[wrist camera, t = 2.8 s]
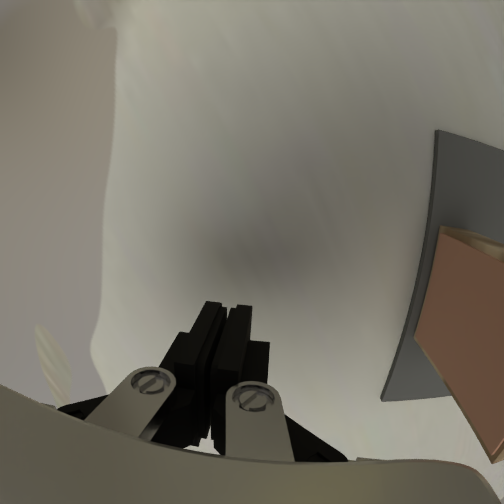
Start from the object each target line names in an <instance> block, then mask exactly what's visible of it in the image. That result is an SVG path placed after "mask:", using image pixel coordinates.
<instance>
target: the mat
mask: <svg viewBox="0 0 504 504" xmlns="http://www.w3.org/2000/svg"><path fill="white" fill-rule="evenodd" d="M440 225H442V226H448V227H454V228H461V229H467V230H470V231H473V232H475V233H478V234H480V235H483V236H485V237H488V238H490V239H493V240H495V241H497V242H500V243H502V244H504V151H503V150H500V149H497V148H495V147H492V146H489V145H486V144H483V143H481V142H478V141H475V140H472V139H468V138H465V137H462V136H459V135H456V134H452V133H449V132H445V131H442V130H435V150H434V165H433V177H432V188H431V197H430V205H429V213H428V220H427V226H426V233H425V239H424V244H423V250H422V255H421V260H420V265H419V270H418V275H417V279H416V284H415V288H414V292H413V296H412V300H411V304H410V308H409V312H408V316H407V319H406V323H405V326H404V330H403V333H402V336H401V340H400V343H399V346H398V349H397V352H396V355H395V358H394V361H393V364H392V367H391V370H390V373H389V376H388V379H387V381H386V384H385V387H384V389H383V392H382V395H381V397H380V399H381V401H382V402H386V401H403V400H416V399H426V398H436V397H444V396H452V395H451V393H450V392H449V390H448V389H447V387H446V385H445V384H444V382H443V381H442V379H441V378H440V376H439V375H438V373H437V372H436V370H435V369H434V367H433V366H432V364H431V363H430V361H429V360H428V358H427V357H426V355H425V354H424V352H423V351H422V349H421V348H420V347H419V345H418V344H417V342H416V341H415V339H414V338H413V337H414V334H415V331H416V328H417V324H418V321H419V318H420V314H421V311H422V307H423V303H424V299H425V295H426V291H427V287H428V283H429V279H430V275H431V270H432V265H433V261H434V256H435V251H436V245H437V240H438V234H439V228H440Z"/></svg>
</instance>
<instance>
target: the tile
mask: <svg viewBox="0 0 504 504" xmlns="http://www.w3.org/2000/svg"><path fill="white" fill-rule="evenodd" d="M413 338H414V339H415V341H416V342H417V344H418V345H419V347H420V348H421V349H422V351H423V352H424V354H425V355H426V357H427V358H428V360H429V361H430V363H431V364H432V366H433V367H434V369H435V370H436V372H437V373H438V375H439V376H440V378H441V379H442V381H443V382H444V384H445V385H446V387H447V389H448V390H449V392H450V393H451V395H452V396H453V398H454V400H455V401H456V403H457V405H458V406H459V408H460V409H461V411H462V413H463V414H464V416H465V418H466V419H467V421H468V423H469V424H470V426H471V428H472V429H473V431H474V433H475V435H476V436H477V438H478V440H479V442H480V443H481V445H482V447H483V449H484V451H485V453H486V454H487V456H488V458H489V460H490V462H491V464H494V463H497V462H499V461H502V460H504V244H502V243H500V242H497V241H495V240H493V239H490V238H488V237H485V236H483V235H480V234H478V233H475V232H473V231H470V230H467V229H461V228H454V227H448V226H442V225H440V228H439V234H438V240H437V245H436V251H435V256H434V261H433V265H432V270H431V275H430V279H429V283H428V287H427V291H426V295H425V299H424V303H423V307H422V311H421V314H420V318H419V321H418V324H417V328H416V331H415V334H414V337H413Z"/></svg>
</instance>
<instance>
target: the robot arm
mask: <svg viewBox="0 0 504 504" xmlns="http://www.w3.org/2000/svg"><path fill="white" fill-rule="evenodd" d="M251 319H252V306H248V305H238V304H237V307H236V308H231V309H230V312H229V315H228V318H227V307H222V303H219V302H210V301H206V303H205V304H204V306H203V308H202V310H201V312H200V314H199V315H198V317H197V319H196V321H195V323H194V325H193V327H192V328H191V330H190V332H189V333H186V332H179V333H178V335H177V337H176V338H175V340H174V342H173V343H172V345H171V347H170V348H169V350H168V352H167V354H166V355H165V357H164V359H163V360H162V362H161V364H160V365H159V367H143V368H139V369H137V370H134V371H133V372H132V373H130V374H129V375H128V376H127V377H126V378H125V379H124V380H123V381H122V382H121V383H120V384H119V385H118V386H117V387H116V388H115V389H114V390H113V391H112V392H111V393H110V394H109V395H105V396H101V397H98V398H94V399H89V400H85V401H82V402H77V403H73V404H69V405H65V406H62V407H60V408H58V409H56V407H55V406H53V405H48V404H43V403H39V402H37V401H35V400H33V399H31V398H28V397H26V396H24V395H22V394H20V393H18V392H16V391H13V390H11V389H9V388H7V387H5V386H3V385H1V384H0V504H501V502H500V500H499V498H498V496H497V495H496V493H495V492H494V490H493V489H492V487H491V485H490V484H489V483H488V481H487V480H486V479H485V478H484V477H483V476H482V475H481V474H480V473H479V472H478V471H477V470H475V469H473V468H471V467H469V466H466V465H463V464H460V463H455V462H449V461H441V460H427V459H395V460H380V459H369V458H360V457H357V459H356V461H354V460H347V458H346V457H345V456H344V455H343V454H342V453H341V452H339V451H338V450H336V449H335V448H333V447H332V446H330V445H329V444H327V443H326V442H324V441H323V440H321V439H320V438H318V437H317V436H315V435H314V434H312V433H311V432H309V431H308V430H306V429H305V428H303V427H302V426H301V425H299V424H298V423H296V422H295V421H293V420H292V419H291V418H289V417H288V416H286V415H285V414H284V410H283V406H282V401H281V397H280V395H279V393H278V391H277V390H276V389H274V388H273V387H272V386H270V385H268V384H267V379H268V364H269V348H270V342H263V341H252V340H250V332H251ZM210 425H211V440H214V448H215V449H216V450H217V451H218V452H219V454H220V455H217V454H210V453H204V452H198V451H193V450H188V449H183V448H185V447H188V446H190V445H192V446H197V447H199V443H200V440H201V438H204V439H207V436H208V433H209V429H210Z"/></svg>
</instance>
